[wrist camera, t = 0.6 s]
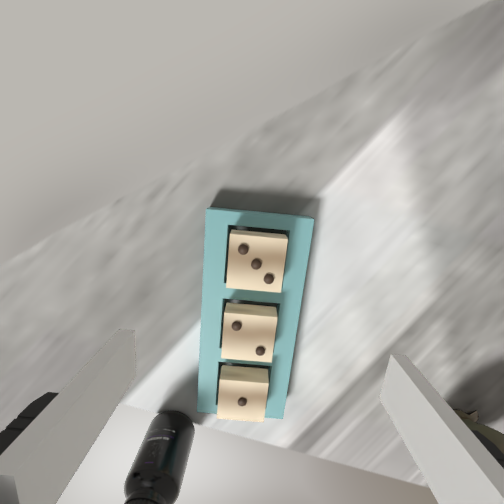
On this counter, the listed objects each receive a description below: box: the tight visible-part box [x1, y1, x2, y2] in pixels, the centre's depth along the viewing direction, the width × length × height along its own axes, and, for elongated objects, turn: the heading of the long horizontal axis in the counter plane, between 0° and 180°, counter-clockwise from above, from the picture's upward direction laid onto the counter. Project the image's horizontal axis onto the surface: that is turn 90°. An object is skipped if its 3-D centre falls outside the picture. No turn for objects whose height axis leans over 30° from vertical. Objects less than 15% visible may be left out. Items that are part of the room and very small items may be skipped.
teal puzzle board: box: [197, 207, 314, 419], centre depth 33 cm, size 28×12×2 cm, turn 175°
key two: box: [221, 303, 278, 363], centre depth 30 cm, size 6×6×3 cm
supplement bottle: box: [124, 411, 194, 504], centre depth 33 cm, size 7×7×12 cm
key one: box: [217, 365, 269, 422], centre depth 33 cm, size 6×6×3 cm
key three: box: [226, 230, 288, 293], centre depth 28 cm, size 6×6×3 cm
